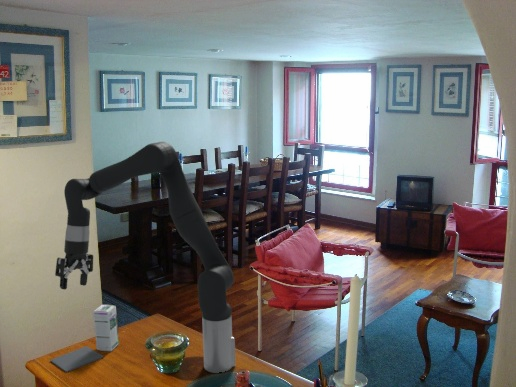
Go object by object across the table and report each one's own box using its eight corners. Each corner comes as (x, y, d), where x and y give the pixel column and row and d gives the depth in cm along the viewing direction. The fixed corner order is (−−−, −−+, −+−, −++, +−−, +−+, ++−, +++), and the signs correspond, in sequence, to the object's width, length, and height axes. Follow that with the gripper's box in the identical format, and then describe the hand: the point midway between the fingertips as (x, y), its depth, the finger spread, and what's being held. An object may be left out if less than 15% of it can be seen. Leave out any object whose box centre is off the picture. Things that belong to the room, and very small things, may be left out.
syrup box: (111, 351, 180) (108, 311, 177) (95, 350, 181) (92, 310, 179) (119, 344, 186) (116, 305, 183) (103, 342, 187) (101, 303, 184)
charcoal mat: (86, 347, 184) (86, 345, 183) (103, 357, 176) (103, 356, 176) (50, 361, 174) (50, 359, 174) (66, 372, 167) (66, 371, 167)
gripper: (68, 242, 167) (65, 292, 168) (101, 238, 180) (97, 285, 181) (52, 238, 171) (48, 288, 171) (84, 235, 183) (81, 281, 184)
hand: (73, 287), depth 176 cm, fingers open, 8 cm apart
